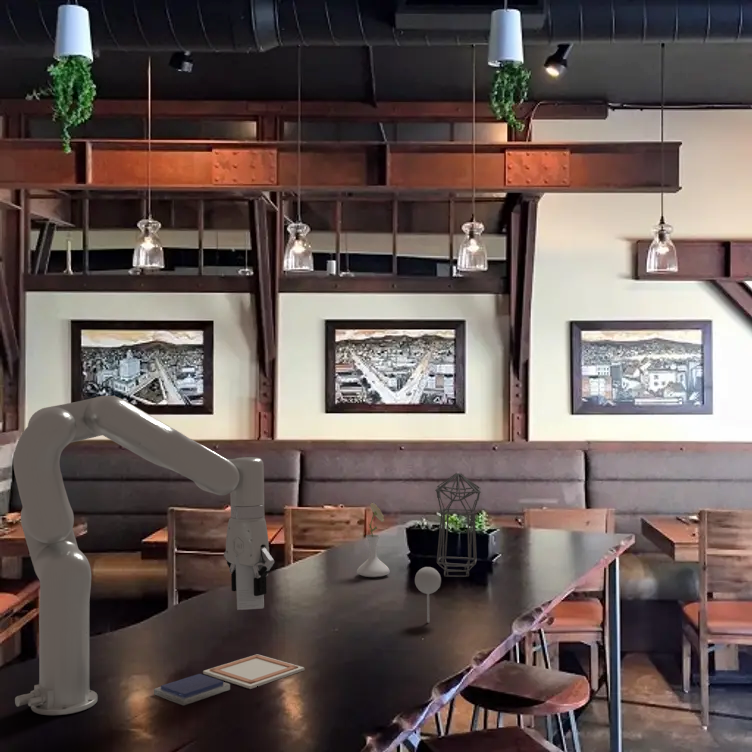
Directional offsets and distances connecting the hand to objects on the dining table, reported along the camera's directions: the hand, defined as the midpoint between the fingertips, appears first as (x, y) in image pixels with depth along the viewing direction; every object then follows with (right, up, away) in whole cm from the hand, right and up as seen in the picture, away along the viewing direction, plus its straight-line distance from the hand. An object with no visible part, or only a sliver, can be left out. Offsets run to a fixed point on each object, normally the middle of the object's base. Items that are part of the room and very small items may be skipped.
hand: (248, 591), depth 191 cm
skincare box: (0, -4, 0) cm, 4 cm away
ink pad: (-10, -18, -12) cm, 24 cm away
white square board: (+1, -18, +1) cm, 18 cm away
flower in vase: (+28, -21, +103) cm, 109 cm away
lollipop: (+43, -19, +41) cm, 62 cm away
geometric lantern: (+57, -20, +104) cm, 121 cm away
